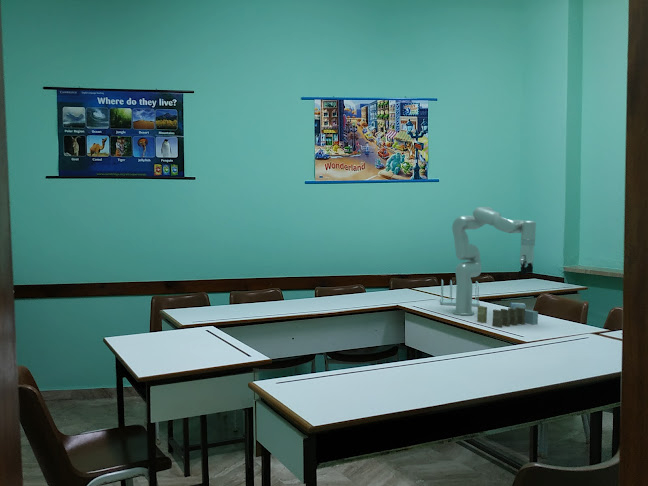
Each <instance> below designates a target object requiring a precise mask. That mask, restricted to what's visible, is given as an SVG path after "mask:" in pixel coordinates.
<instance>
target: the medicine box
mask: <svg viewBox="0 0 648 486" xmlns="http://www.w3.org/2000/svg"><path fill="white" fill-rule="evenodd" d="M526 306H527V305H526V303H523V302H510V308H513V309H515V308H516V307H519V308H524V309H526Z"/></svg>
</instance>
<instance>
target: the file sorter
mask: <svg viewBox="0 0 648 486" xmlns="http://www.w3.org/2000/svg"><path fill="white" fill-rule="evenodd" d="M440 282H441V283H440V284H441V285H440V287H441V290H440V291H441V293H440V298H439V303H440V305H441V306H456V298H453V282H452V279H450V281H449V298H444V280H443V279H441V281H440ZM475 285H477V289H475V294H474V295H475V299H472V307H478V306H481V304H480V302H479V300H478V299H477V298H479V297H480V296H479V295H480V294H479V292H480V291H479V282H478V281H477V280H476V281H475Z"/></svg>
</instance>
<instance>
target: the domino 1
mask: <svg viewBox="0 0 648 486" xmlns="http://www.w3.org/2000/svg"><path fill="white" fill-rule="evenodd" d="M476 314H477V315H476V316H477V319H476V321H477V323H481V324H487V322H488V321H487V320H488V319H487V318H488V317H487V316H488V307H487V306H483V305H480V306H477V313H476Z"/></svg>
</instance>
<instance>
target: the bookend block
mask: <svg viewBox="0 0 648 486" xmlns="http://www.w3.org/2000/svg"><path fill="white" fill-rule="evenodd" d="M538 319H539V311H535V310H531V309H526V308H525V324H528V325H534V326H535V325H538V323H539V322H538V321H539V320H538Z"/></svg>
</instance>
